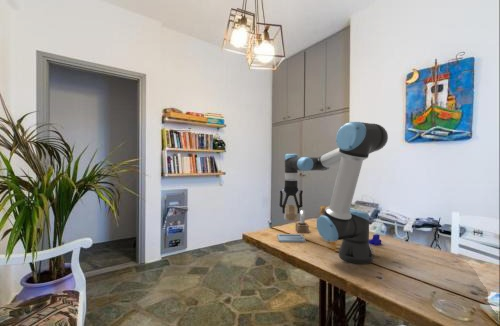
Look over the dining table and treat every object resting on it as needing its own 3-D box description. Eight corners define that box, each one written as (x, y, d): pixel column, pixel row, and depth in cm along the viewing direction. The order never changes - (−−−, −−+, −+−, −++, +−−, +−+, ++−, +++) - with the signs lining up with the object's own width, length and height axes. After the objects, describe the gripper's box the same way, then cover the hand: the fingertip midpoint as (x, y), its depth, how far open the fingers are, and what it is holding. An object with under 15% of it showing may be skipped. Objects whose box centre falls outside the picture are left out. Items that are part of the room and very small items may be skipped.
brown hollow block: (308, 233, 154) (308, 225, 154) (297, 233, 154) (297, 225, 154) (305, 230, 161) (306, 222, 161) (295, 230, 161) (295, 222, 161)
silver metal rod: (304, 232, 156) (305, 210, 156) (300, 232, 156) (300, 210, 156) (303, 231, 159) (304, 209, 159) (299, 230, 159) (299, 209, 159)
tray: (305, 242, 137) (305, 240, 137) (279, 242, 137) (279, 240, 137) (301, 236, 148) (301, 234, 148) (277, 236, 148) (277, 234, 148)
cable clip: (381, 245, 133) (381, 234, 133) (375, 246, 131) (375, 235, 131) (363, 238, 144) (363, 229, 144) (357, 239, 142) (357, 229, 142)
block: (296, 220, 139) (296, 206, 139) (286, 220, 139) (286, 206, 139) (294, 218, 145) (294, 204, 145) (284, 218, 145) (285, 204, 145)
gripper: (305, 179, 146) (305, 217, 146) (274, 179, 146) (274, 217, 146) (308, 180, 138) (308, 220, 139) (275, 180, 138) (275, 220, 138)
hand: (290, 218), depth 142 cm, fingers closed on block, 6 cm apart
